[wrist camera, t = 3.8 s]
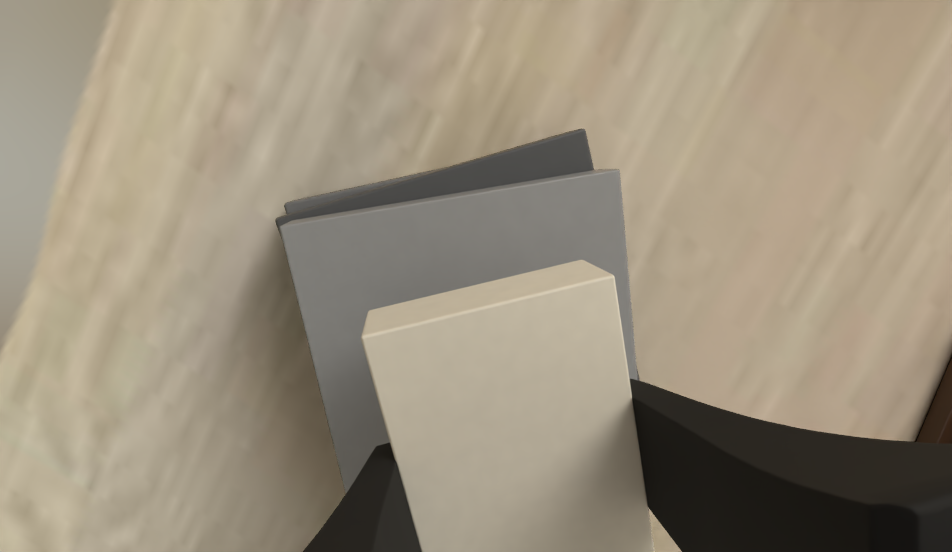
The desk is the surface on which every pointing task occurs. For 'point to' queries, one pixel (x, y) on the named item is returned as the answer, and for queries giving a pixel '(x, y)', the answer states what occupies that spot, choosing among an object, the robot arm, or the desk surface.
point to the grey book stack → (441, 256)
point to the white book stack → (939, 414)
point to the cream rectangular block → (513, 414)
